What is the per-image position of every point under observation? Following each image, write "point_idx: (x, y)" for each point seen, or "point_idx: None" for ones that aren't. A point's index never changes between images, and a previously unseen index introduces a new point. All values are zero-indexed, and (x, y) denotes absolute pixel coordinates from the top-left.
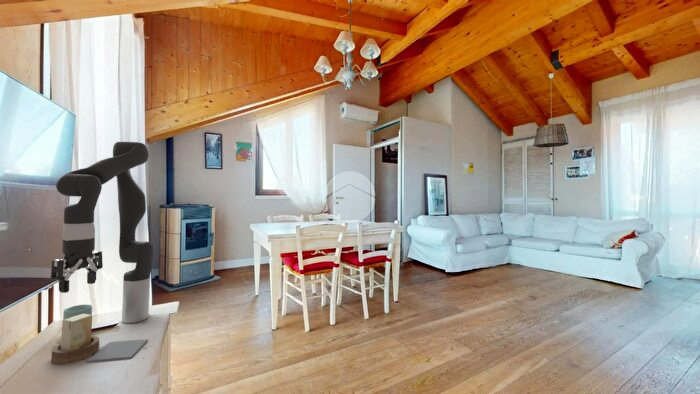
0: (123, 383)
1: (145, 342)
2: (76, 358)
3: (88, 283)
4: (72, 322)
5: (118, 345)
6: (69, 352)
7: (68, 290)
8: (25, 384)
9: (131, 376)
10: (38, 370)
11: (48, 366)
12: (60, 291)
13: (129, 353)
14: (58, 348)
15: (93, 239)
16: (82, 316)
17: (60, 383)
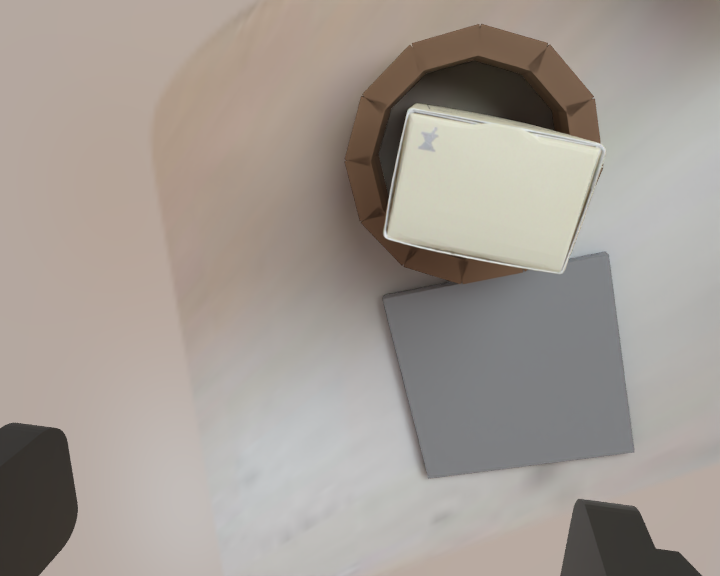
0: (248, 548)
1: (598, 454)
2: None
3: (573, 514)
4: (384, 234)
5: (555, 341)
6: (360, 220)
7: (50, 547)
8: (182, 172)
9: (292, 549)
10: (292, 106)
11: (332, 121)
12: (11, 430)
13: (461, 452)
14: (432, 69)
15: None
16: (510, 221)
17: (213, 321)
